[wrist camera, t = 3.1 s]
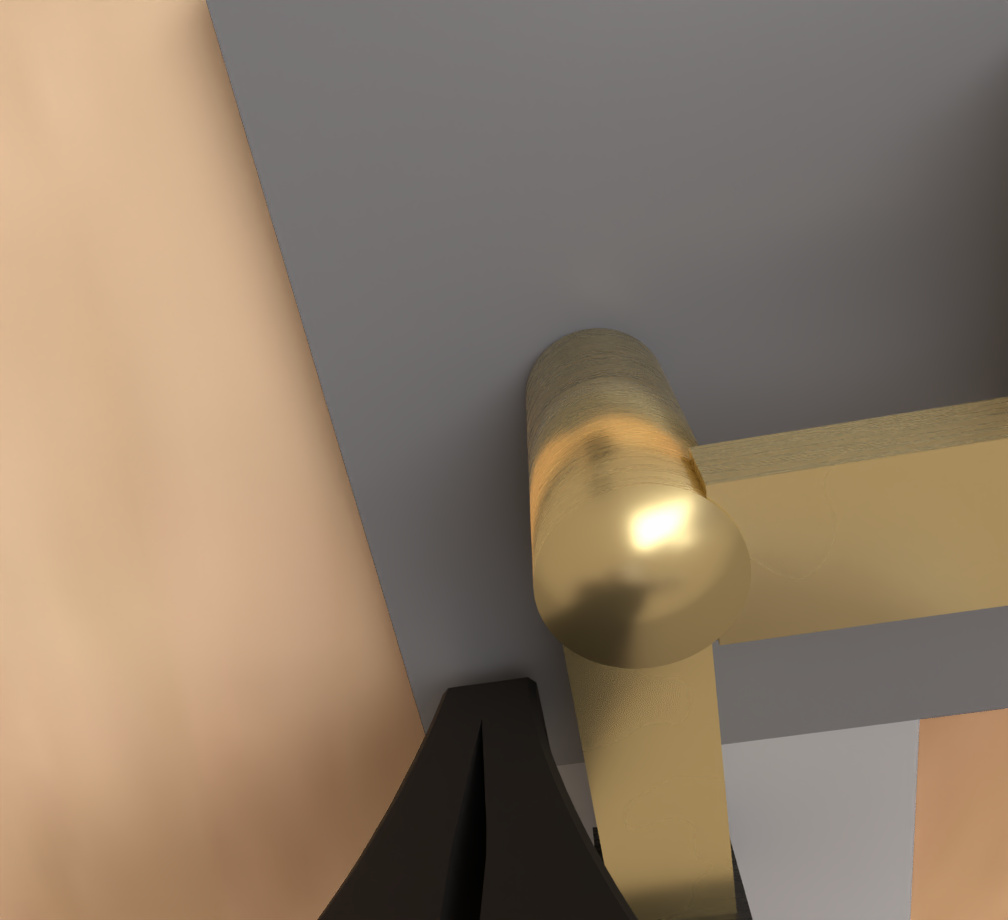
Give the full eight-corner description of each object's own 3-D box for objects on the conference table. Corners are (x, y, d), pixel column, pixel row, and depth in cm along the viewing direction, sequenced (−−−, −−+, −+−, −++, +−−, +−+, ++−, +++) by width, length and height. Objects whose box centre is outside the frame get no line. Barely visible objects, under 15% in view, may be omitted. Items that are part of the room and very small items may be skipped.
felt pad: (906, 697, 14) (919, 718, 14) (896, 985, 18) (906, 1010, 17) (446, 757, 15) (444, 779, 14) (522, 1023, 18) (523, 1048, 18)
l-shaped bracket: (1328, 200, 10) (1866, 295, 6) (1172, 848, 14) (1410, 1135, 10) (499, 344, 10) (491, 510, 7) (608, 911, 15) (641, 1197, 11)
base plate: (1783, -371, 8) (1907, -413, 7) (1420, 616, 13) (1471, 648, 13) (219, -28, 9) (195, -33, 9) (442, 745, 15) (439, 780, 14)
